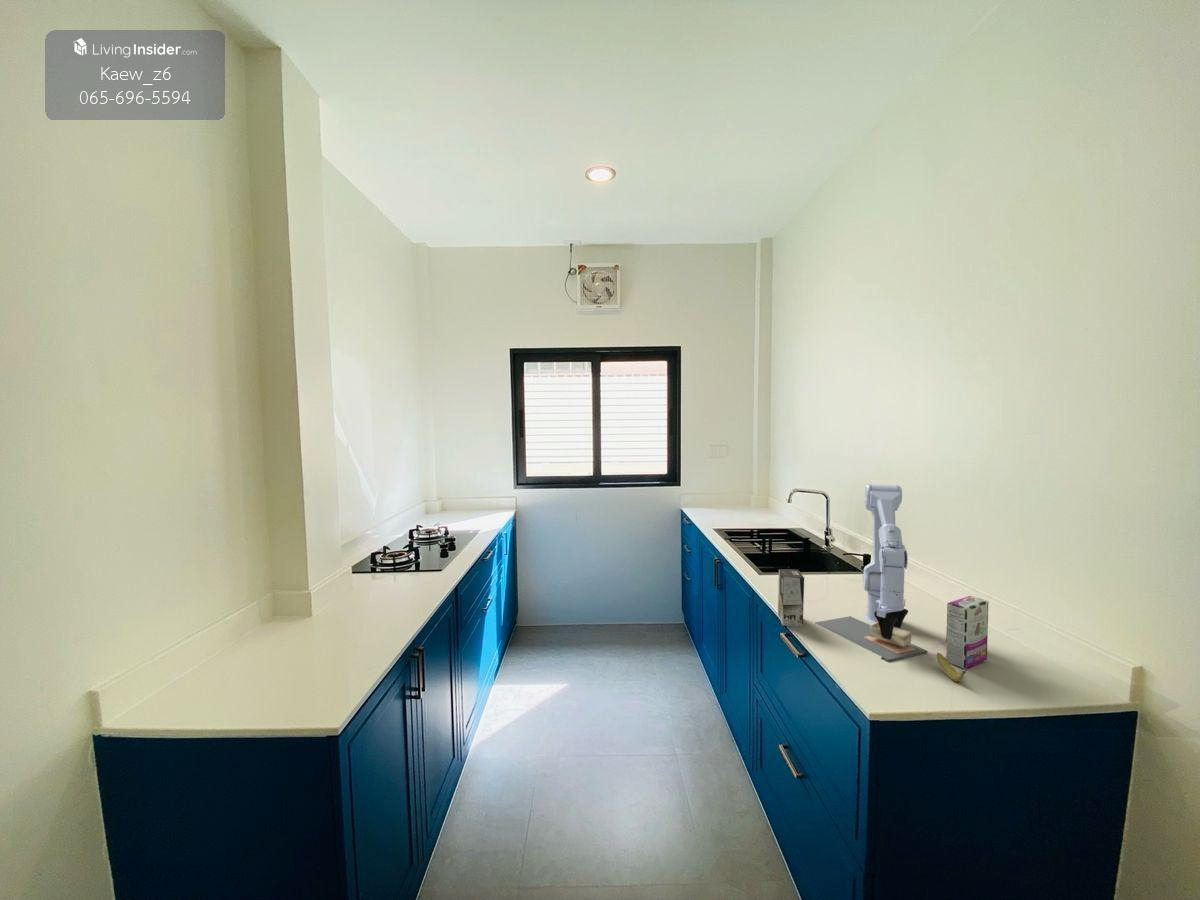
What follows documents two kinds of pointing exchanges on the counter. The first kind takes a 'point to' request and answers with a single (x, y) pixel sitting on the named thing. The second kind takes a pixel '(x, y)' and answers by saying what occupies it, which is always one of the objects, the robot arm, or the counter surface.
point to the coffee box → (791, 597)
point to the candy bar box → (967, 632)
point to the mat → (869, 639)
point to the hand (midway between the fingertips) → (890, 635)
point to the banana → (949, 668)
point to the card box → (898, 635)
